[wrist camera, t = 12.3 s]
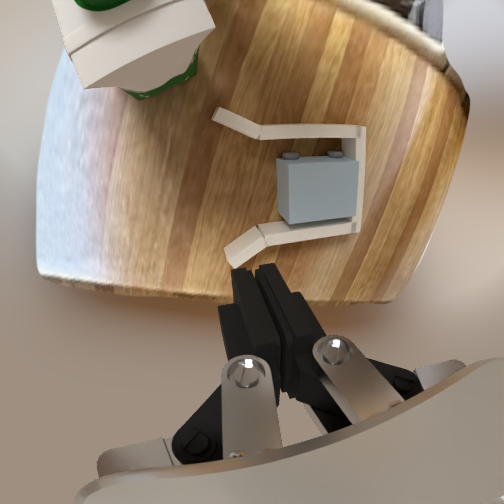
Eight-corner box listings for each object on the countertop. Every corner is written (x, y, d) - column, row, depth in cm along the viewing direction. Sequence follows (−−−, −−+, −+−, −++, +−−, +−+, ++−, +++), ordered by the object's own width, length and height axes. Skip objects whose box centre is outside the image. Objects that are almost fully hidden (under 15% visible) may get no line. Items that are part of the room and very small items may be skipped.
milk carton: (179, 16, 22) (180, -88, 5) (207, 78, 26) (240, 22, 9) (108, 49, 22) (25, -14, 4) (135, 112, 26) (61, 106, 9)
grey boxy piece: (275, 152, 32) (288, 157, 29) (340, 150, 34) (359, 155, 30) (277, 216, 36) (289, 230, 32) (338, 209, 38) (355, 221, 34)
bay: (209, 108, 28) (212, 107, 25) (350, 107, 31) (366, 107, 28) (224, 256, 37) (228, 270, 34) (346, 237, 40) (358, 247, 37)
